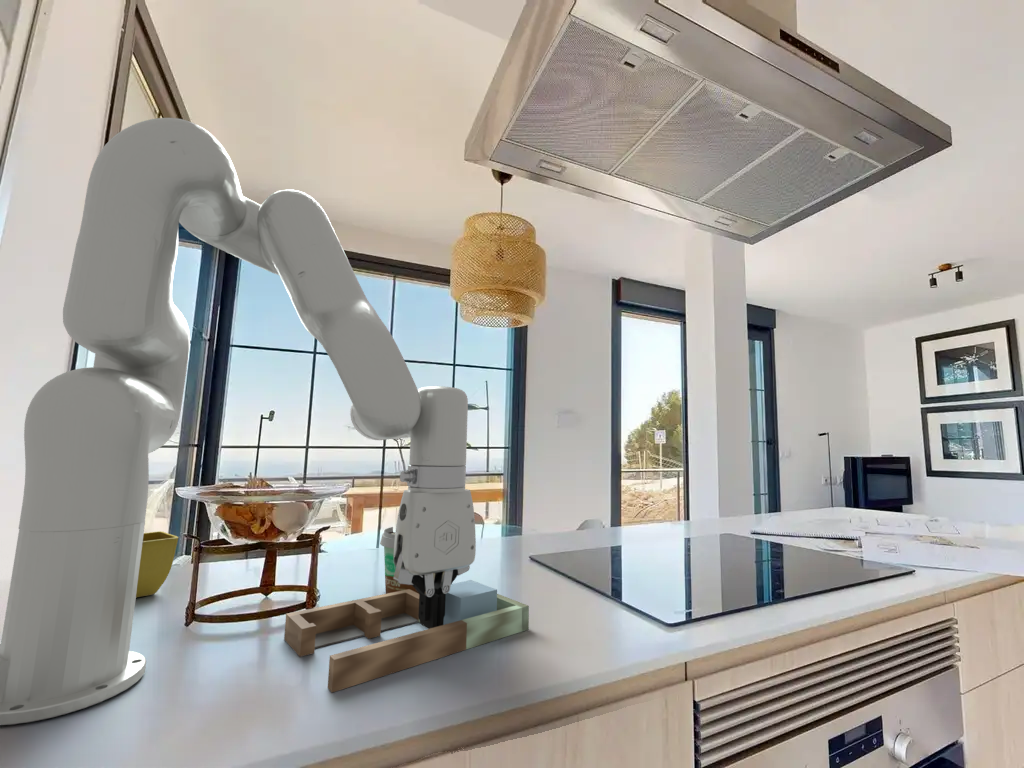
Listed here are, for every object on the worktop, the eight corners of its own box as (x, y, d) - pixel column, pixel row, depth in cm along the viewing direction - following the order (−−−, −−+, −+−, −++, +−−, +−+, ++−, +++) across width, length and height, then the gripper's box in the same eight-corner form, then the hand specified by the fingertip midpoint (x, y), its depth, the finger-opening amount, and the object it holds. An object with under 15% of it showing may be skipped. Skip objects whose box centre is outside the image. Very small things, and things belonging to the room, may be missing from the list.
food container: (361, 594, 76) (364, 531, 78) (387, 585, 82) (390, 526, 83) (420, 607, 71) (423, 538, 72) (444, 596, 76) (446, 533, 77)
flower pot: (102, 609, 68) (110, 545, 69) (87, 597, 73) (95, 537, 74) (173, 594, 75) (179, 536, 76) (155, 584, 80) (161, 530, 81)
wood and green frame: (331, 692, 45) (334, 659, 46) (284, 639, 58) (286, 613, 58) (528, 629, 62) (528, 605, 63) (458, 598, 75) (459, 579, 75)
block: (459, 639, 59) (460, 598, 59) (434, 626, 63) (435, 587, 64) (496, 628, 62) (497, 589, 63) (470, 616, 67) (471, 579, 68)
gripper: (399, 482, 54) (390, 651, 52) (498, 479, 64) (495, 621, 61) (372, 479, 60) (362, 630, 57) (467, 476, 70) (462, 606, 67)
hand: (431, 625), depth 59 cm, fingers closed
